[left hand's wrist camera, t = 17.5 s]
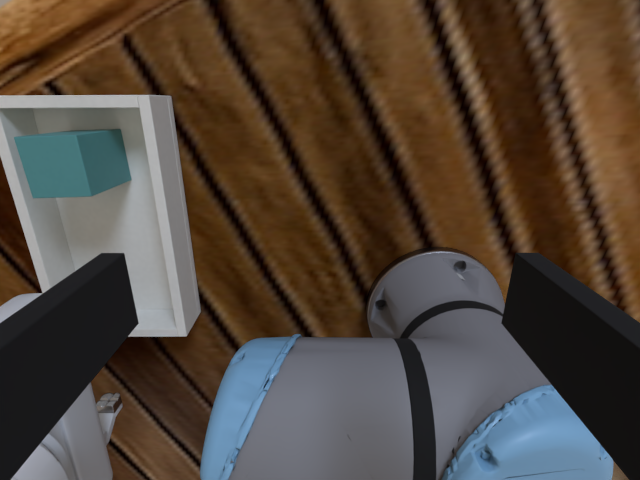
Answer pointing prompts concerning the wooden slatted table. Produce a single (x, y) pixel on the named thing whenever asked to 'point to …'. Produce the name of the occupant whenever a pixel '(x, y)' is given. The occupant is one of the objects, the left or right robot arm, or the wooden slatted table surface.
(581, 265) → the wooden slatted table surface
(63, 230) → the tray
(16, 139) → the block
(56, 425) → the right robot arm
